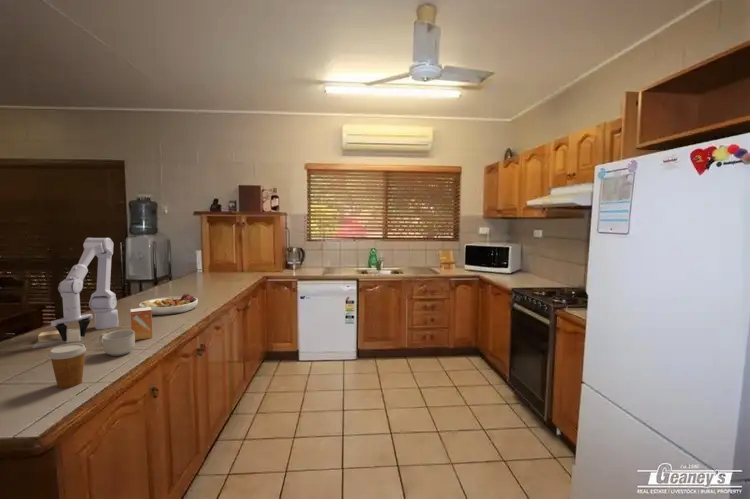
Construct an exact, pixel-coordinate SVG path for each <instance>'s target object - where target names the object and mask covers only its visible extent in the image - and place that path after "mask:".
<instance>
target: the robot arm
mask: <svg viewBox="0 0 750 499" xmlns="http://www.w3.org/2000/svg"><path fill="white" fill-rule="evenodd" d="M82 245H83V252H82V254H81V256H80V258H79V260H78V263H77V264H74V265H73V266H72V267H71V269H70V271H69V272H68V274H67V276H66V278H65V279H63V280H62V281H60V282H59V284H58V287H57V290H58V292H59V293H60V297H61V298H62V309H63V310H62V311H63V317H62V318H59V319H58V318H57V319H55V320H51V321H50V326H51V327H55V329H56V331H57V330H58V331H59V333H60V335H61V338H62V341H67V335H66V331H67V329H68V326H67V325H66V324H70V323H75V322H78V325H79V328H80V330H81V336H82V337H83V338H85V336H86V332H87V329H88V326H89V324H90V323H91V319H93V313H94V329H95V330H107V329H112V328H113V329H114V328H119V324H120V321H119V313H118V309H116V307H117V303H118V300H117V297H116V295H117V294H116V293H115V292H113V291H111V277H112V276H111V274H112V272H111V271H112V256H113V254H114V242H113V240H112V239H111V237H86V238H85V240H84V242H83V244H82ZM95 256H96V257H97V272H96V273H97V275H96V276H97V277H96V290H95V291H94V292H92V294H91V295H90V300H89V302H88V306H89V309H91V310H92V312H93V313H85V314H82V313H81V299H80V298H81V296H80V293H81V291H82V290H83V287H84V279H85V277H86V275H87V274H88V272H89V269H88V266H89V265H90V263H91V262H92V260H93V259H94V257H95Z"/></svg>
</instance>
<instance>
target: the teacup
mask: <svg viewBox="0 0 750 499" xmlns="http://www.w3.org/2000/svg"><path fill="white" fill-rule="evenodd" d="M98 341H99V343H100V344H101V345H103V346H102V347H103V351H104V352H105V353H106V354H107V355H109V356H112V357H119V356H125V355H127V354H128V353H130V352H131V351H132V350H133V349H134V348H135V347H136V346H135V344H136V340H135V332H134V331H133V330H131V329H119V330H114V331H111V332H108V333H105V332H104V333H101V334H100V335H99V336H98Z"/></svg>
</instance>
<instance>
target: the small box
mask: <svg viewBox="0 0 750 499" xmlns="http://www.w3.org/2000/svg"><path fill="white" fill-rule="evenodd" d="M129 311H130V314H129V315H130V330H133V331H134V332H135V341H139V340H145V339H147V340H148V339H153V315H152V310H151V307H147V308H140V307H138V308H130V310H129Z"/></svg>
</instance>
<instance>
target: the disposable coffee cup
mask: <svg viewBox="0 0 750 499" xmlns="http://www.w3.org/2000/svg"><path fill="white" fill-rule="evenodd" d="M86 352H87V348H86V347H85V344H83V343H69V344H62V345H58V346H56V347H53V348H52V349H50V351H49V354H48V357H49V359H50V360H51V364H52V369H53V372H54V373H53V374H54V377H55V380H56V386H57V388H59V389H65V388H66V389H67V388H71V387H75V386H77V385H80V384H81V383H83V375H84V374H83V373H84V365H85V357H86V356H85V353H86Z"/></svg>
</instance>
